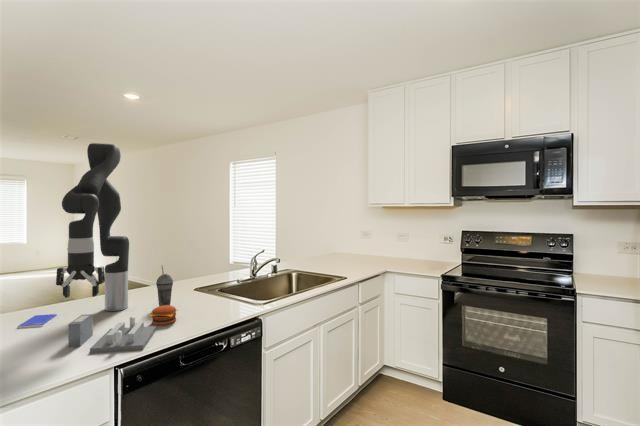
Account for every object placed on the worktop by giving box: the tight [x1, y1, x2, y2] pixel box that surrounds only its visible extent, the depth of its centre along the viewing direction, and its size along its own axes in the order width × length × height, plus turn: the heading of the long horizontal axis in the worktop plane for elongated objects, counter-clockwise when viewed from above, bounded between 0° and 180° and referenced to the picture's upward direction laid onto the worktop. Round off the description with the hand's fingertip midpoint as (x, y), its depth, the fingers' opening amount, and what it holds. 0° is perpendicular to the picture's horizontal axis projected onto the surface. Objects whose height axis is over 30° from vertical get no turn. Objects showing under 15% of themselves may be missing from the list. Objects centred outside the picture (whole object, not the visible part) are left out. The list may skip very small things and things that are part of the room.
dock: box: [89, 315, 157, 354], centre depth 123 cm, size 18×16×6 cm
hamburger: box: [148, 305, 179, 327], centre depth 142 cm, size 9×10×7 cm
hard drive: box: [17, 313, 58, 329], centre depth 139 cm, size 2×8×12 cm
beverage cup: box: [155, 264, 174, 307], centre depth 160 cm, size 7×7×20 cm
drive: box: [67, 313, 94, 349], centre depth 121 cm, size 10×4×8 cm, turn 13°
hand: (80, 296), depth 121 cm, fingers open, 8 cm apart
